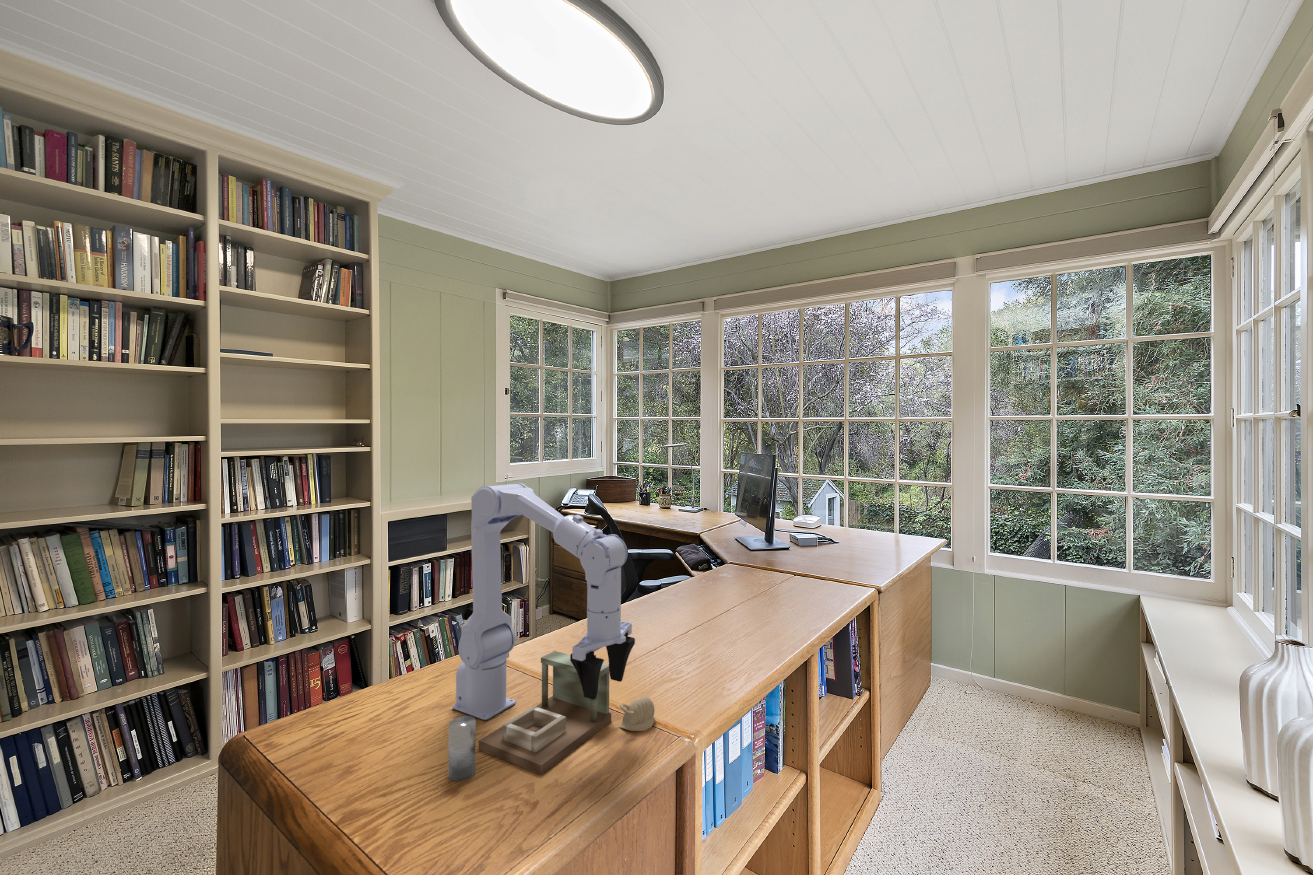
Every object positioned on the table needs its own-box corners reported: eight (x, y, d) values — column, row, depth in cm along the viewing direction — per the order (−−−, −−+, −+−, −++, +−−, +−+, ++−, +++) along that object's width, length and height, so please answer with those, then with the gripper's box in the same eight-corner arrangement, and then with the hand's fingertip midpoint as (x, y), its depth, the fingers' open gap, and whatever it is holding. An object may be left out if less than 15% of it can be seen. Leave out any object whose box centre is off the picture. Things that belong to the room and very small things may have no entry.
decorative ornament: (661, 723, 101) (661, 694, 101) (625, 739, 95) (625, 708, 95) (647, 715, 104) (648, 687, 104) (611, 729, 98) (611, 700, 98)
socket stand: (478, 749, 92) (479, 687, 92) (553, 702, 108) (553, 650, 108) (541, 774, 85) (541, 707, 85) (611, 721, 101) (611, 665, 101)
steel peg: (442, 776, 84) (443, 724, 85) (463, 763, 88) (463, 713, 88) (460, 784, 82) (460, 731, 83) (480, 770, 86) (481, 719, 86)
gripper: (597, 624, 84) (597, 712, 84) (646, 601, 97) (646, 677, 97) (562, 616, 88) (561, 701, 88) (613, 595, 100) (613, 669, 100)
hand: (603, 688), depth 92 cm, fingers open, 7 cm apart
